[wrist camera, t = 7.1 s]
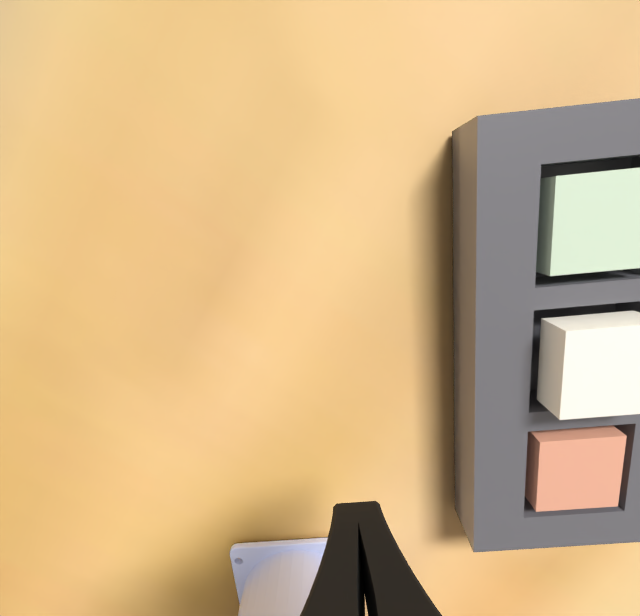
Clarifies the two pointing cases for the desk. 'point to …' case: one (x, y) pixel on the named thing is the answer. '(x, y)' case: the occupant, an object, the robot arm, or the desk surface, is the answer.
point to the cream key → (590, 365)
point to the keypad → (527, 318)
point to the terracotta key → (574, 468)
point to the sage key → (589, 222)
